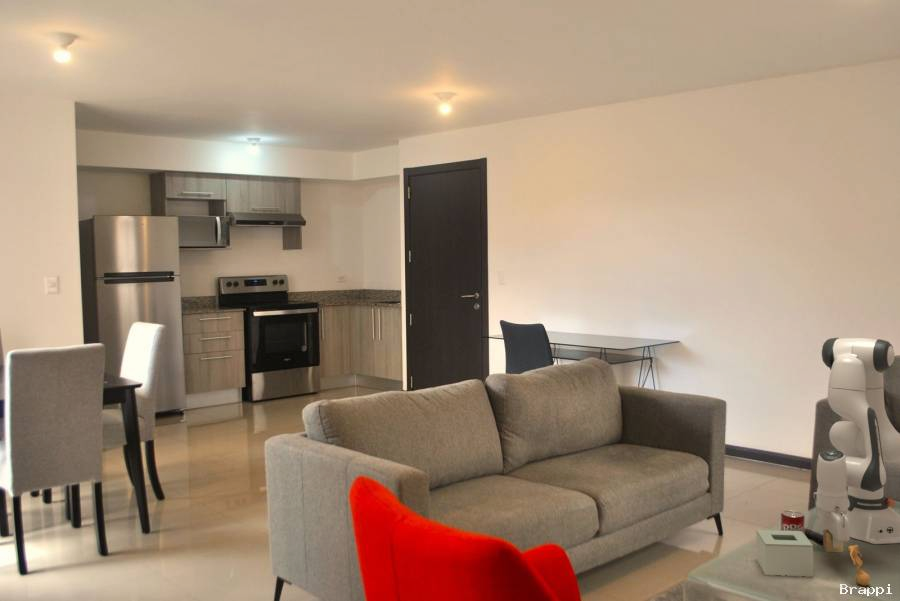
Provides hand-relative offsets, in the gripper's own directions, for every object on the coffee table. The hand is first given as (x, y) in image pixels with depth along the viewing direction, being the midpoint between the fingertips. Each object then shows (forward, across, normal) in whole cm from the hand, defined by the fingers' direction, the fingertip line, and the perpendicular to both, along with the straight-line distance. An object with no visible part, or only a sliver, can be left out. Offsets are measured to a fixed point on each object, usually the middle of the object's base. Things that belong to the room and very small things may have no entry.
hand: (833, 543), depth 252 cm
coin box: (+6, -4, +16) cm, 18 cm away
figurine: (+7, -15, -2) cm, 16 cm away
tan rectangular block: (+2, 0, 0) cm, 2 cm away
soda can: (+7, +12, +9) cm, 17 cm away
